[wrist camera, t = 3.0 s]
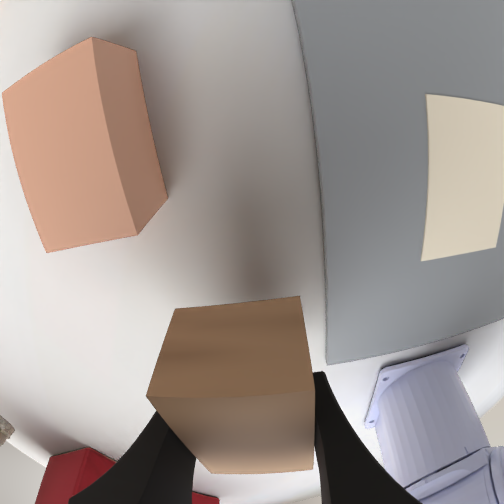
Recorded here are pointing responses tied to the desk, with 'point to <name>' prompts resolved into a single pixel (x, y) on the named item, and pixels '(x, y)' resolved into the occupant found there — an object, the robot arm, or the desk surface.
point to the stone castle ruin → (5, 430)
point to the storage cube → (82, 476)
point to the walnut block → (239, 386)
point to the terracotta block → (85, 146)
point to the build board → (407, 167)
